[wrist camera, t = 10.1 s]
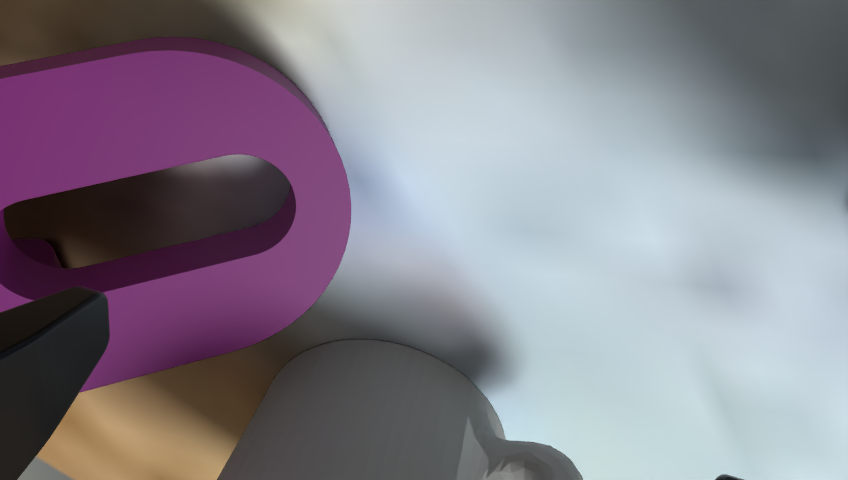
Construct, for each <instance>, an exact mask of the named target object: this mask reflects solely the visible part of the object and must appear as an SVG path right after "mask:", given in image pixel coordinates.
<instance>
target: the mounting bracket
mask: <svg viewBox="0 0 848 480" xmlns="http://www.w3.org/2000/svg"><path fill="white" fill-rule="evenodd" d="M232 154H244V155H251V156H255V157H258V158H261V159H264V160H266V161H268V162H270V163H271V164H273V165H274V166H276V167H277V168H278V169H279V170H280V171H281V172H282V173H283V174H284V175H285V176H286V177H287V179H288V180H289V182H290V190H289V194H288V197H287V199H286V201H285V203H284V205H283V206H282V208H281V209H280V210H279V211H278V212H277V213H276V214H275V215H274V216H273V217H272V218H270V219H269V220H267V221H265V222H263V223H261V224H259V225H256V226H252V227H248V228H244V229H240V230H236V231H232V232H227V233H223V234H219V235H215V236H211V237H207V238H202V239H198V240H194V241H190V242H186V243H182V244H177V245H173V246H169V247H165V248H161V249H157V250H152V251H148V252H144V253H140V254H136V255H132V256H127V257H123V258H119V259H115V260H111V261H107V262H102V263H98V264H94V265H90V266H86V267H81V268H74V269H63V268H62V267H61V264H60V262H59V260H58V258H57V256H56V254H55V251H54V249H53V248H52V246H51V245H50V244H49V243H47V242H46V241H44V240H41V239H37V238H34V239H10V237H9V235H8V233H7V231H6V228H5V224H4V208H5V207H7V206H9V205H11V204H13V203H16V202H19V201H23V200H27V199H31V198H36V197H40V196H45V195H49V194H54V193H58V192H63V191H67V190H72V189H76V188H81V187H85V186H90V185H94V184H99V183H103V182H108V181H112V180H117V179H122V178H126V177H131V176H135V175H140V174H144V173H149V172H153V171H158V170H162V169H167V168H171V167H176V166H180V165H185V164H189V163H194V162H198V161H203V160H207V159H212V158H216V157H221V156H225V155H232ZM350 223H351V199H350V189H349V184H348V180H347V175H346V172H345V169H344V166H343V163H342V160H341V157H340V155H339V153H338V151H337V149H336V146H335V144H334V142H333V140H332V138H331V136H330V133H329V131H328V129H327V127H326V125H325V123H324V122H323V120H322V118H321V117H320V115H319V113H318V112H317V110H316V109H315V107H314V106H313V105H312V103H311V102H310V101H309V99H308V98H307V97H306V96H305V95H304V94H303V93H302V91H301V90H300V89H299V88H298V87H297V86H296V85H295V84H294V83H293V82H291V81H290V80H289V79H288V78H287V77H285V76H284V75H283V74H282V73H281V72H279V71H278V70H276V69H275V68H273V67H272V66H270V65H269V64H267V63H266V62H264V61H262V60H260V59H258V58H256V57H254V56H253V55H251V54H248V53H246V52H244V51H241V50H239V49H236V48H234V47H231V46H227V45H224V44H221V43H217V42H213V41H208V40H202V39H197V38H186V37H156V38H148V39H141V40H135V41H130V42H124V43H119V44H114V45H109V46H104V47H98V48H93V49H88V50H83V51H77V52H72V53H67V54H62V55H56V56H51V57H46V58H41V59H35V60H30V61H25V62H20V63H14V64H9V65H4V66H0V312H3V311H5V310H8V309H11V308H14V307H17V306H20V305H23V304H25V303H28V302H31V301H34V300H37V299H40V298H42V297H45V296H48V295H51V294H54V293H57V292H60V291H62V290H65V289H68V288H71V287H75V286H83V287H87V288H90V289H93V290H97V291H100V292H102V293H104V294H105V295H106V297H107V299H108V309H109V328H110V338H109V343H108V346H107V348H106V350H105V352H104V354H103V355H102V357H101V359H100V360H99V362H98V363H97V365H96V367H95V368H94V370H93V371H92V373H91V374H90V376H89V378H88V379H87V381H86V382H85V384H84V385H83V387H82V389H81V390H80V392H83V391H87V390H91V389H94V388H98V387H102V386H106V385H109V384H113V383H117V382H121V381H124V380H128V379H132V378H135V377H139V376H143V375H147V374H150V373H154V372H158V371H162V370H165V369H169V368H173V367H176V366H180V365H184V364H188V363H191V362H195V361H199V360H203V359H206V358H210V357H214V356H217V355H221V354H225V353H229V352H232V351H236V350H239V349H242V348H245V347H248V346H251V345H253V344H255V343H258V342H260V341H263V340H265V339H266V338H268V337H270V336H272V335H274V334H276V333H278V332H279V331H281V330H282V329H284V328H285V327H287V326H288V325H290V324H291V323H293V322H294V321H295V320H296V319H297V318H299V317H300V316H301V315H302V314H304V313H305V312H306V311H307V310H308V309H309V308H310V307H311V306H312V305H313V304H314V303H315V301H316V300H317V299H318V298H319V297H320V295H321V294H322V293H323V292H324V290H325V289H326V287H327V286H328V284H329V283H330V281H331V280H332V278H333V276H334V274H335V273H336V271H337V269H338V267H339V265H340V262H341V260H342V257H343V254H344V252H345V248H346V244H347V241H348V237H349V230H350Z"/></svg>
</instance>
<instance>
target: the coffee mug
mask: <svg viewBox="0 0 848 480" xmlns="http://www.w3.org/2000/svg"><path fill="white" fill-rule="evenodd" d="M217 480H583V478H582V476H581V474H580V473H579V471H578V470H577V468H576V467H575V465H574V464H573V462H572V461H571V460H570V459H569V458H568V457H567V456H566V455H565V454H563V453H561V452H560V451H558V450H556V449H555V448H553V447H551V446H548V445H544V444H539V443H535V442H524V441H508V440H506V439H505V435H504V431H503V428H502V425H501V422H500V420H499V418H498V416H497V414H496V412H495V410H494V409H493V407H492V405H491V404H490V402H489V401H488V400H487V398H486V397H485V396H484V395H483V394H482V393H481V392H480V391H479V389H478V388H477V387H476V386H475V385H474V384H473V383H472V382H471V381H470V380H469V379H468V378H466V377H465V376H464V375H463V374H462V373H460V372H459V371H457V370H456V369H454V368H453V367H451V366H450V365H448V364H447V363H445V362H443V361H441V360H439V359H437V358H435V357H433V356H431V355H429V354H426V353H424V352H421V351H419V350H416V349H413V348H411V347H408V346H405V345H400V344H396V343H390V342H385V341H379V340H368V339H358V340H340V341H335V342H330V343H326V344H323V345H319V346H316V347H314V348H312V349H309V350H307V351H305V352H302V353H301V354H299V355H298V356H296V357H295V358H294V359H292V360H291V361H290V362H288V363H287V364H286V365H285V366H284V367H283V368H282V369H281V370H280V371H279V372H278V374H277V375H276V376H275V378H274V380H273V382H272V383H271V385H270V387H269V389H268V390H267V392H266V394H265V396H264V397H263V399H262V401H261V403H260V405H259V406H258V408H257V410H256V412H255V413H254V415H253V417H252V419H251V420H250V422H249V424H248V426H247V427H246V429H245V431H244V433H243V435H242V436H241V438H240V440H239V442H238V443H237V445H236V447H235V449H234V450H233V452H232V454H231V456H230V458H229V459H228V461H227V463H226V465H225V466H224V468H223V470H222V472H221V473H220V475H219V477H218V479H217Z"/></svg>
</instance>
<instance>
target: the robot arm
mask: <svg viewBox="0 0 848 480" xmlns="http://www.w3.org/2000/svg"><path fill="white" fill-rule="evenodd" d="M109 338H110V328H109V309H108V299H107V297H106V295H105V294H104V293H102V292H100V291H97V290H93V289H90V288H87V287H83V286H75V287H71V288H68V289H65V290H62V291H60V292H57V293H54V294H51V295H48V296H45V297H42V298H40V299H37V300H34V301H31V302H28V303H25V304H23V305H20V306H17V307H14V308H11V309H8V310H5V311H3V312H0V480H17V479H18V478H19V476H20V475H21V474H22V473H23V471H24V470H25V469H26V468H27V466H28V465H29V464H30V462H31V461H32V460H33V459H34V458H35V456H36V455H37V454H38V453H39V451H40V450H41V449H42V447H43V446H44V445H45V443H46V442H47V441H48V439H49V438H50V437H51V435H52V434H53V432H54V431H55V429H56V428H57V426H58V425H59V423H60V422H61V420H62V418H63V417H64V415H65V414H66V412H67V411H68V409H69V407H70V406H71V404H72V403H73V401H74V400H75V398H76V396H77V395H78V393H79V392H80V390H81V389H82V387H83V385H84V384H85V382H86V381H87V379H88V378H89V376H90V374H91V373H92V371H93V370H94V368H95V367H96V365H97V363H98V362H99V360H100V359H101V357H102V355H103V354H104V352H105V350H106V348H107V346H108V343H109ZM715 480H743V479H740V478H737V477H733V476H730V475H720V476H718V477H717V478H716V479H715Z"/></svg>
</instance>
